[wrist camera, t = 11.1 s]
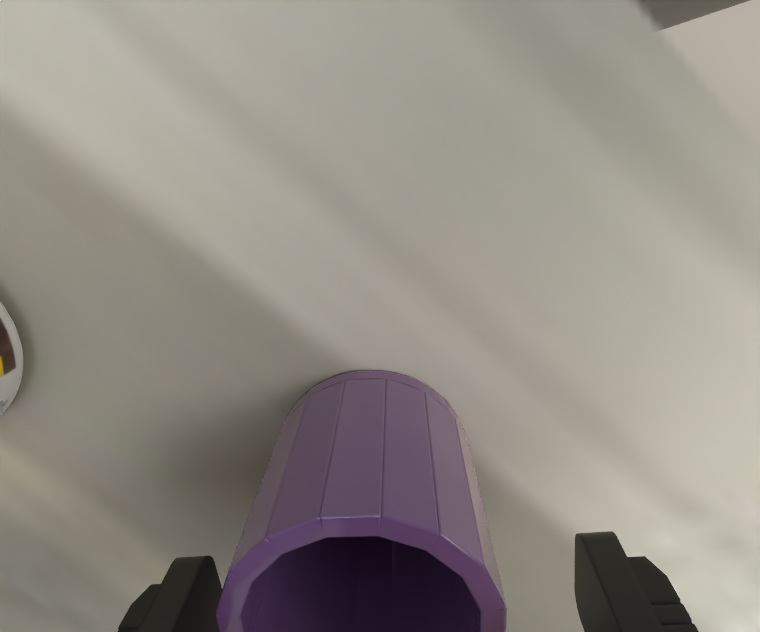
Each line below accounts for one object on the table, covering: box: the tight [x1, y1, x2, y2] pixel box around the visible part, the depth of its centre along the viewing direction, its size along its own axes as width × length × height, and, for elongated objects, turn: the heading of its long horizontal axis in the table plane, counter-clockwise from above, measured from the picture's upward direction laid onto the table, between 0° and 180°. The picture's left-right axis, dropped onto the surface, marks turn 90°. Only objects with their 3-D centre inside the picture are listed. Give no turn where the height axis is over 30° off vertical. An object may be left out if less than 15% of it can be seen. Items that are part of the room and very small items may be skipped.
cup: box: [216, 370, 507, 632], centre depth 13 cm, size 6×6×6 cm
